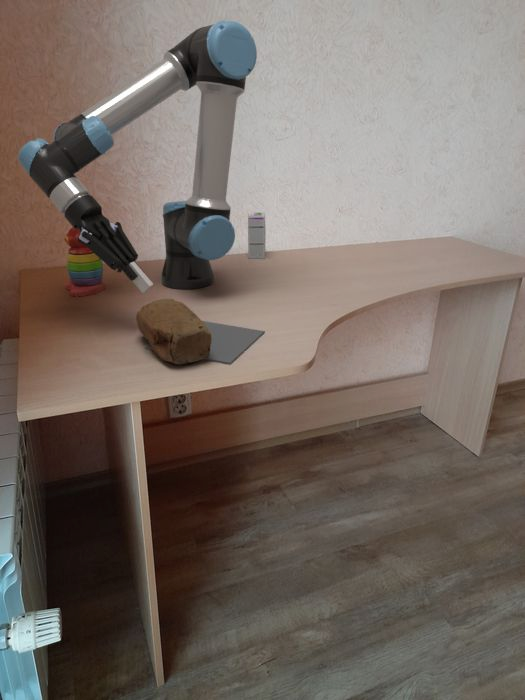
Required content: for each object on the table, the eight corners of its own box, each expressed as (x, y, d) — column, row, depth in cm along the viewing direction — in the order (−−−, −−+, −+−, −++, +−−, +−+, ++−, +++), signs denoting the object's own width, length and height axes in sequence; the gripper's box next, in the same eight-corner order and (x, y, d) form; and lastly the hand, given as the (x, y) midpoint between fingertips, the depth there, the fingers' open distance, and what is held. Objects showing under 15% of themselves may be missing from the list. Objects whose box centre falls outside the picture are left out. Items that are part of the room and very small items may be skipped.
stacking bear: (64, 287, 150) (54, 223, 143) (100, 282, 155) (92, 220, 147) (72, 298, 142) (62, 231, 134) (109, 292, 146) (102, 227, 139)
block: (180, 295, 119) (215, 327, 103) (181, 326, 122) (215, 362, 107) (132, 301, 114) (161, 336, 99) (134, 333, 118) (163, 372, 102)
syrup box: (265, 258, 180) (265, 215, 174) (247, 258, 180) (247, 215, 174) (265, 254, 185) (265, 212, 179) (248, 254, 185) (248, 212, 179)
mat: (187, 319, 128) (187, 318, 127) (264, 332, 121) (264, 331, 120) (145, 348, 112) (145, 346, 112) (230, 364, 106) (230, 362, 105)
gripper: (88, 211, 123) (154, 290, 124) (47, 221, 112) (121, 307, 113) (104, 189, 119) (173, 271, 120) (64, 197, 108) (140, 287, 109)
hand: (148, 288), depth 117 cm, fingers closed
